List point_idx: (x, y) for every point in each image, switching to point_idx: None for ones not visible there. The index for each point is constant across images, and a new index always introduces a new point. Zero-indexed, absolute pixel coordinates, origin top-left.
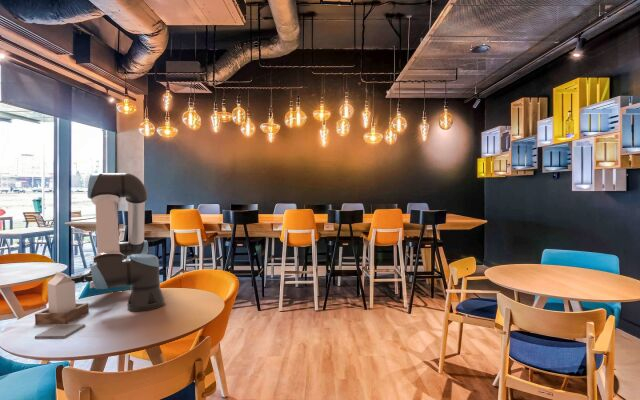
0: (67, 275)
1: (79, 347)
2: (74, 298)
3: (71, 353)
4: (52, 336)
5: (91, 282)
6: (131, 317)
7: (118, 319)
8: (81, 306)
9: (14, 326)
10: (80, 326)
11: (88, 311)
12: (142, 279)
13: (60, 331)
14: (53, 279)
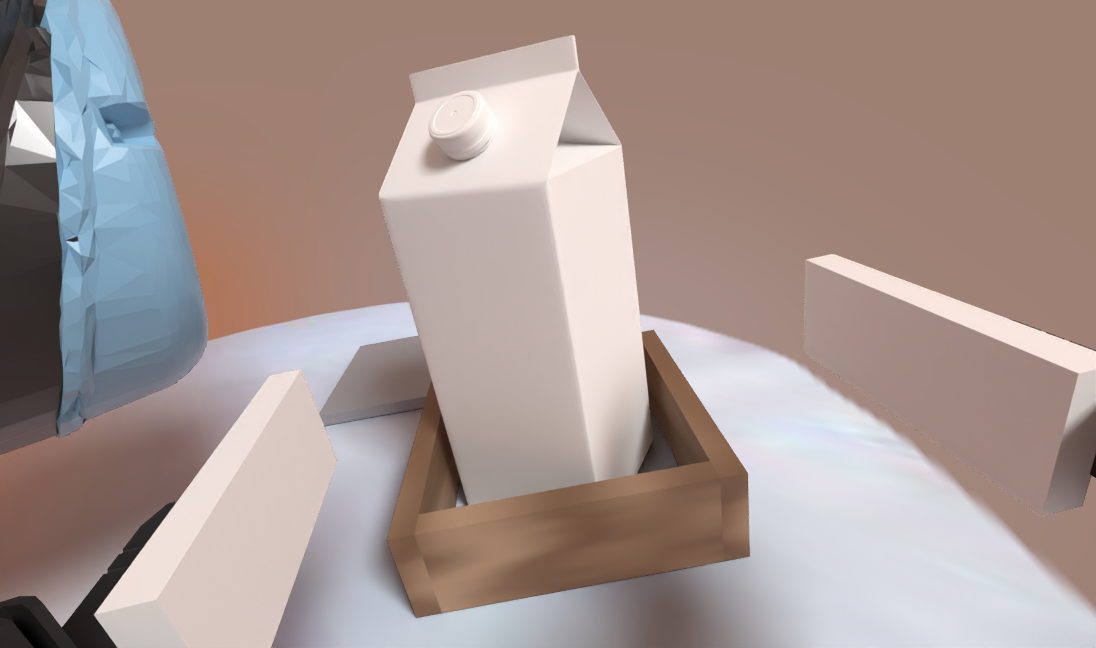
0: (438, 110)
1: (278, 340)
2: (432, 361)
3: (292, 323)
4: (413, 338)
5: (271, 382)
6: (2, 575)
7: (113, 529)
8: (408, 462)
9: (751, 354)
10: (331, 398)
11: (414, 607)
12: None
13: (404, 357)
14: (567, 119)
